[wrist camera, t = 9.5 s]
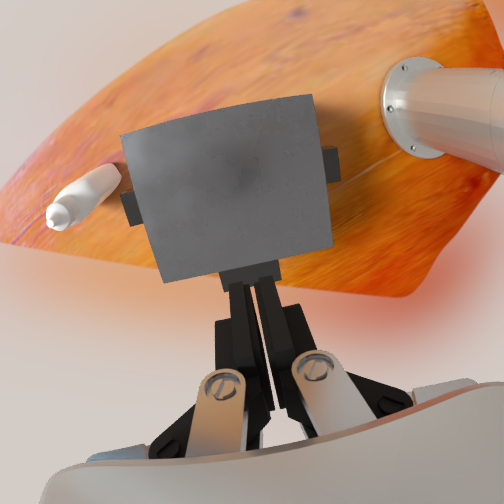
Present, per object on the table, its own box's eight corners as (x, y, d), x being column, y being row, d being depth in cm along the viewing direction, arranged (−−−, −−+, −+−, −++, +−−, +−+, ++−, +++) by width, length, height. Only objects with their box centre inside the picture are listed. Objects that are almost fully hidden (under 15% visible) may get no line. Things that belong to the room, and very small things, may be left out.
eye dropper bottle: (125, 199, 32) (86, 247, 21) (81, 204, 32) (30, 251, 21) (121, 160, 30) (74, 191, 19) (75, 167, 30) (17, 201, 19)
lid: (308, 94, 22) (311, 93, 21) (331, 262, 28) (335, 267, 27) (123, 135, 22) (119, 135, 21) (172, 297, 28) (170, 303, 27)
